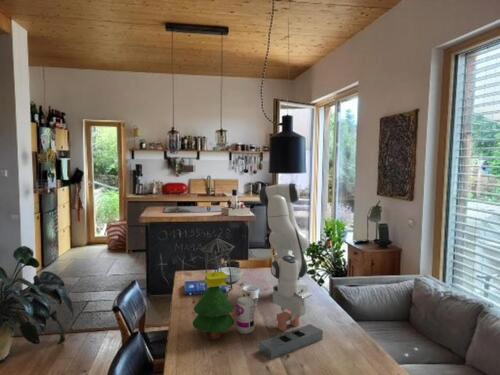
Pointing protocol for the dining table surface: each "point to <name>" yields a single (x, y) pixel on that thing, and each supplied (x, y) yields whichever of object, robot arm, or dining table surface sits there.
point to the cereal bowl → (232, 274)
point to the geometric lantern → (218, 258)
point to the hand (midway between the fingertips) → (288, 317)
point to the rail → (290, 341)
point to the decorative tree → (213, 307)
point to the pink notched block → (285, 317)
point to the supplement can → (245, 315)
